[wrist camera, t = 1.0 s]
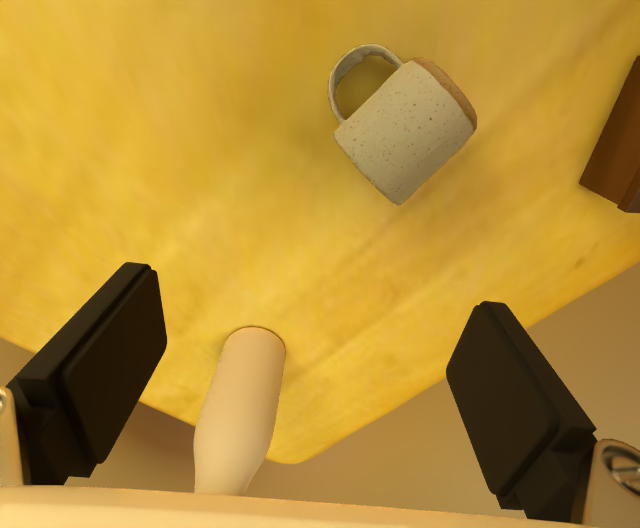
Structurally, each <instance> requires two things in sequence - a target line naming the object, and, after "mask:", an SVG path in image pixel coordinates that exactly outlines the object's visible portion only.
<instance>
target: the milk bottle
mask: <svg viewBox="0 0 640 528" xmlns="http://www.w3.org/2000/svg"><path fill="white" fill-rule="evenodd" d="M284 362H285V347H284V345H283V343H282V341H281V340H280V339H279V338H278V337H277V336H276V335H275V334H274V333H272V332H270V331H268V330H265V329H262V328H257V327H248V328H243V329H239V330H237V331H236V332H234V333H233V334H232V335H230V336H229V337H228V339H227V340H226V343H225V345H224V347H223V350H222V353H221V356H220V358H219V361H218V364H217V366H216V369H215V372H214V375H213V377H212V380H211V383H210V386H209V389H208V391H207V394H206V397H205V400H204V403H203V406H202V409H201V412H200V415H199V418H198V421H197V425H196V430H195V436H194V459H195V472H196V473H195V474H196V475H195V476H196V477H195V489H194V493H198V494H213V495H227V496H242V497H243V496H244V493H245V491H246V489H247V487H248V485H249V483H250V481H251V479H252V478H253V476H254V475H255V473H256V471H257V470H258V468H259V467H260V465H261V464H262V462H263V460H264V458H265V456H266V454H267V452H268V449H269V446H270V443H271V440H272V436H273V430H274V425H275V420H276V414H277V408H278V402H279V395H280V389H281V382H282V376H283V369H284Z"/></svg>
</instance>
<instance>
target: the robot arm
mask: <svg viewBox="0 0 640 528" xmlns="http://www.w3.org/2000/svg"><path fill="white" fill-rule="evenodd" d="M166 346H167V335H166V328H165V322H164V315H163V308H162V302H161V295H160V289H159V282H158V276H157V272H156V271H155V270H151V267H150V265H148V264H141V263H132V262H126V263H124V264H123V265H122V266H121V267H120V268H119V269H118V270H117V271H116V272H115V273H114V274H113V275H112V276H111V278H110V279H109V280H108V281H107V282H106V283H105V284H104V285H103V286H102V287H101V288H100V289H99V290H98V291H97V292H96V293H95V294H94V295H93V296H92V297H91V298H90V299H89V300H88V301H87V302H86V303H85V304H84V305H83V306H82V307H81V309H80V310H79V311H78V312H77V313H76V314H75V315H74V316H73V317H72V318H71V319H70V320H69V321H68V322H67V323H66V324H65V325H64V326H63V327H62V328H61V329H60V330H59V331H58V332H57V333H56V334H55V335H54V336H53V337H52V338H51V340H50V341H49V342H48V343H47V344H46V345H45V346H44V347H43V348H42V349H41V350H40V351H39V352H38V353H37V354H36V355H35V356H34V357H33V358H32V359H31V360H30V361H29V362H28V363H27V364H26V365H25V366H24V367H23V369H21V371H20V372H19V373H18V374H17V375H16V376H15V377H14V378H13V379H12V380H11V381H10V382H9V383H8V384H7V385H6V386H5V387H4V386H1V385H0V528H640V451H639V450H638V449H636V448H635V447H633V446H631V445H628V444H626V443H624V442H621V441H618V440H614V439H602V440H600V441H597V439H596V438H595V437H594V435H593V434H592V433H593V432H594V431H595V430H596V427H595V426H594V424H593V423H592V422H591V420H590V419H589V418H588V416H587V415H586V413H585V412H584V411H583V409H582V408H581V407H580V405H579V404H578V402H577V401H576V400H575V398H574V397H573V396H572V394H571V393H570V391H569V390H568V389H567V387H566V386H565V385H564V383H563V382H562V380H561V379H560V378H559V377H558V375H557V374H556V372H555V371H554V369H553V368H552V367H551V365H550V364H549V363H548V361H547V360H546V359H545V357H544V356H543V354H542V353H541V352H540V350H539V349H538V347H537V346H536V345H535V343H534V342H533V341H532V339H531V338H530V336H529V335H528V334H527V332H526V331H525V330H524V328H523V327H522V325H521V324H520V323H519V321H518V320H517V319H516V317H515V316H514V314H513V313H512V312H511V310H510V309H509V308H508V306H507V305H506V304H504V303H499V302H490V301H483V302H482V303H480V305H476V306H475V307H474V309H473V311H472V313H471V315H470V317H469V319H468V322H467V324H466V326H465V328H464V330H463V333H462V335H461V337H460V339H459V341H458V343H457V346H456V348H455V350H454V352H453V354H452V357H451V359H450V361H449V363H448V365H447V368H446V377H447V380H448V383H449V385H450V388H451V391H452V393H453V396H454V399H455V401H456V404H457V407H458V409H459V412H460V415H461V417H462V420H463V423H464V425H465V428H466V430H467V433H468V436H469V438H470V441H471V444H472V446H473V449H474V451H475V454H476V457H477V460H478V462H479V465H480V468H481V470H482V473H483V476H484V478H485V481H486V483H487V486H488V488H489V490H490V491H491V493H493V494H496V497H497V500H498V502H499V505H500V507H501V509H511V510H524V512H525V514H526V517H527V519H523V518H513V517H503V516H491V515H478V514H465V513H453V512H441V511H427V510H414V509H403V508H390V507H377V506H364V505H350V504H337V503H323V502H310V501H297V500H283V499H282V500H281V499H270V498H255V497H242V496H227V495H213V494H198V493H183V492H169V491H155V490H140V489H120V488H101V487H82V486H63V485H64V483H65V482H66V480H67V478H68V477H69V476H73V477H86V478H89V477H90V475H91V474H92V472H93V470H94V468H95V467H96V465H97V464H101V463H103V462H104V461H105V460H106V458H107V457H108V455H109V453H110V451H111V449H112V448H113V446H114V444H115V442H116V440H117V438H118V437H119V435H120V433H121V431H122V429H123V427H124V426H125V423H126V422H127V420H128V418H129V416H130V415H131V413H132V411H133V409H134V407H135V405H136V403H137V402H138V400H139V398H140V396H141V394H142V392H143V391H144V389H145V387H146V385H147V383H148V381H149V380H150V378H151V376H152V374H153V372H154V370H155V368H156V367H157V365H158V363H159V361H160V359H161V357H162V356H163V354H164V352H165V349H166Z"/></svg>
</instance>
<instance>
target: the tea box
mask: <svg viewBox="0 0 640 528" xmlns="http://www.w3.org/2000/svg"><path fill="white" fill-rule="evenodd" d="M579 184H580V185H582V186H584V187H586V188H588V189H589V190H591V191H593V192H595V193H597V194H599V195H601V196H602V197H604V198H606V199H608V200H610V201H612V202H614V203H615V204H617V205H618V206H617V208H619V209H620V210H622V211H624V212H627V213H640V56H637V58H636V60H635V62H634V64H633V67H632V69H631V71H630V73H629V75H628V77H627V80H626V82H625V84H624V86H623V88H622V91H621V93H620V95H619V97H618V99H617V101H616V104H615V106H614V108H613V110H612V112H611V115H610V117H609V119H608V121H607V123H606V125H605V128H604V130H603V132H602V134H601V136H600V139H599V141H598V143H597V145H596V147H595V149H594V152H593V154H592V156H591V158H590V160H589V163H588V165H587V167H586V169H585V171H584V173H583V176H582V178H581V180H580V182H579Z"/></svg>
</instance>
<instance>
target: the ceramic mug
mask: <svg viewBox="0 0 640 528" xmlns="http://www.w3.org/2000/svg"><path fill="white" fill-rule="evenodd" d="M369 55H373V56H380V57H383V58H384V59H386V60H388V61H389V62H391V63H392V64H393V65H394V66H395V67H396V68H397V69H398V70H397V71H395V72H394V73H393V74H392V75H391V76H390V77H389V78H388V79H387V80H386V81H385V82H384V84H383V85H382V86H381V87H380V88H379V89H378V90H377V91H376V92H375V93H374V94H373V95H372V96H371V97H370V98H369V99H368V100H367V101H366V102H365V103H364V104H362V105H361V106H360V107H359V108H358V109H357V110H356V111H355V112H354V113H353V114H352V115H351V116H350V117H349V118H348V119H347V120H345V119H344V118H343V116H342V114H341V112H340V110H339V107H338V104H337V100H336V87H337V84H338V83H339V81H340V79H341V78H342V77H343V76H344V75H345V74H346V73H347V72H348V71H349V70H350V69H351V68H352V67H354V66H355V65H356V64H358V63H362V61H363V60H364V57H365V56H369ZM328 97H329V102H330V106H331V108H332V111H333V113H334V115H335V117H336V119H337V120H338V122H339V123H340V127H339V128H338V129H337V130H336V131H335V132H334V138H335V140H336V142H337V143H338V145H339V146H340V148H341V149H342V150H343V151H344V153H345V154H346V155H347V156H348V158H349V159H350V160H351V161H352V162H353V163H354V165H355V166H356V167H357V168H358V169H359V170H360V171H361V172H362V174H363V175H364V176H365V177H366V178H367V179H368V180H369V181H370V182H371V183H372V184H373V185H374V186H375V187H376V188H377V189H378V190H379V191H380V192H381V193H382V194H383V195H384V196H385V197H386V198H387V199H388V200H390V201H391V202H392V203H394V204H396V205H401V204H402V203H403V202H404V201H406V200H407V199H408V198H409V197H410V196H411V195H412V194H413V193H414V192H415V191H416V190H417V189H418V188H419V187H420V186H421V185H422V184H423V183H424V182H426V181H427V180H428V179H429V178H430V177H431V176H432V175H433V174H434V173H435V172H436V171H437V170H438V169H439V168H440V167H441V166H442V165H443V164H444V163H445V162H446V161H447V160H448V159H450V158H451V157H452V156H453V155H454V154H455V153H456V152H457V151H458V150H459V149H460V148H462V147H463V145H464V144H465V143H466V142H467V141H468V139H469V138H470V137H471V136H472V134H473V133H474V131H475V129H476V127H477V116H476V113H475V111H474V109H473V107H472V105H471V104H470V102H469V101H468V99H467V98H466V96H465V95H464V93H463V92H462V91H461V90H460V89H459V87H458V86H457V85H456V84H455V83H454V82H453V81H452V79H451V78H450V77H449V76H448V75H447V74H446V73H445V72H444V71H443V70H441V69H440V68H439V67H438V66H437V65H436V64H434V63H433V62H432V61H430V60H428V59H426V58H423V57H422V58H414V59H412V60H410V61H409V62H407V63H402V61H401V60H400V59H399V57H398V56H397V55H396V54H395V53H393V52H392V51H390V50H389V49H388V48H386V47H383V46H381V45H378V44H364V45H360V46H357V47H355V48H353V49H351V50H350V51H348V52H347V53H346V54H345V55H344V56H343V57H342V58H341V59H340V60H339V61H338V62H337V63H336V65H335V66H334V68H333V69H332V71H331V74H330V77H329V81H328Z"/></svg>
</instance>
